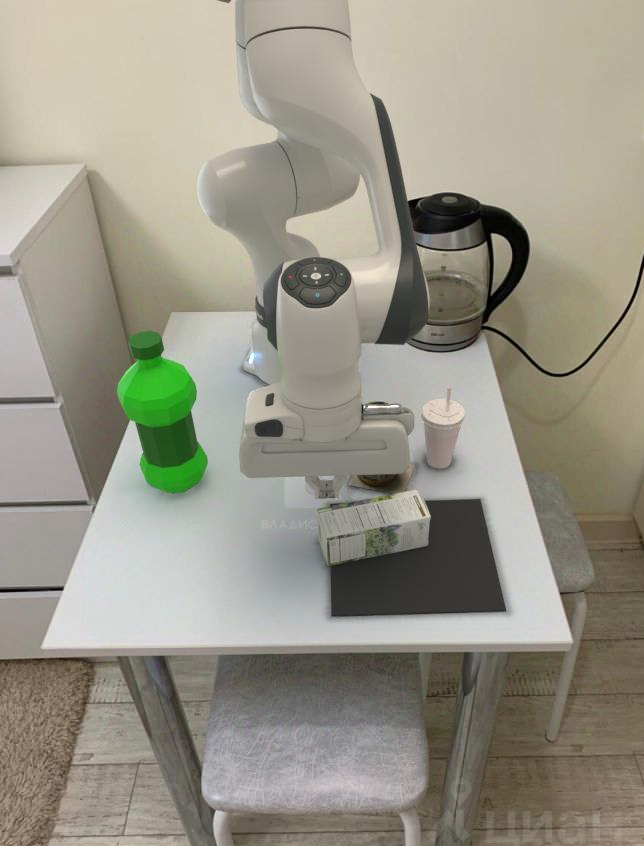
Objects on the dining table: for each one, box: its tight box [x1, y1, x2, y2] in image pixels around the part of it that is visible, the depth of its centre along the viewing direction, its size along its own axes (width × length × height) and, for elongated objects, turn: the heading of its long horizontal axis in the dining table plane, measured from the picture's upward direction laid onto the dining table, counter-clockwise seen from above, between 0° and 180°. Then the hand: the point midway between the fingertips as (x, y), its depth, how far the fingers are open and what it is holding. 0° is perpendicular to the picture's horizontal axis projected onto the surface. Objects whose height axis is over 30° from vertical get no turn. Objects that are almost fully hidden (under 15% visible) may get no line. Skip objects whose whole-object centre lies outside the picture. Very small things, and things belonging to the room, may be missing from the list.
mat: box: [329, 498, 507, 618], centre depth 98 cm, size 20×22×1 cm
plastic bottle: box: [116, 330, 209, 495], centre depth 102 cm, size 10×10×25 cm
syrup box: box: [316, 489, 431, 567], centre depth 98 cm, size 6×6×14 cm
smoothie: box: [420, 385, 466, 470], centre depth 108 cm, size 6×6×14 cm
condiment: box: [348, 400, 416, 494], centre depth 106 cm, size 7×8×12 cm
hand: (327, 495), depth 90 cm, fingers closed
